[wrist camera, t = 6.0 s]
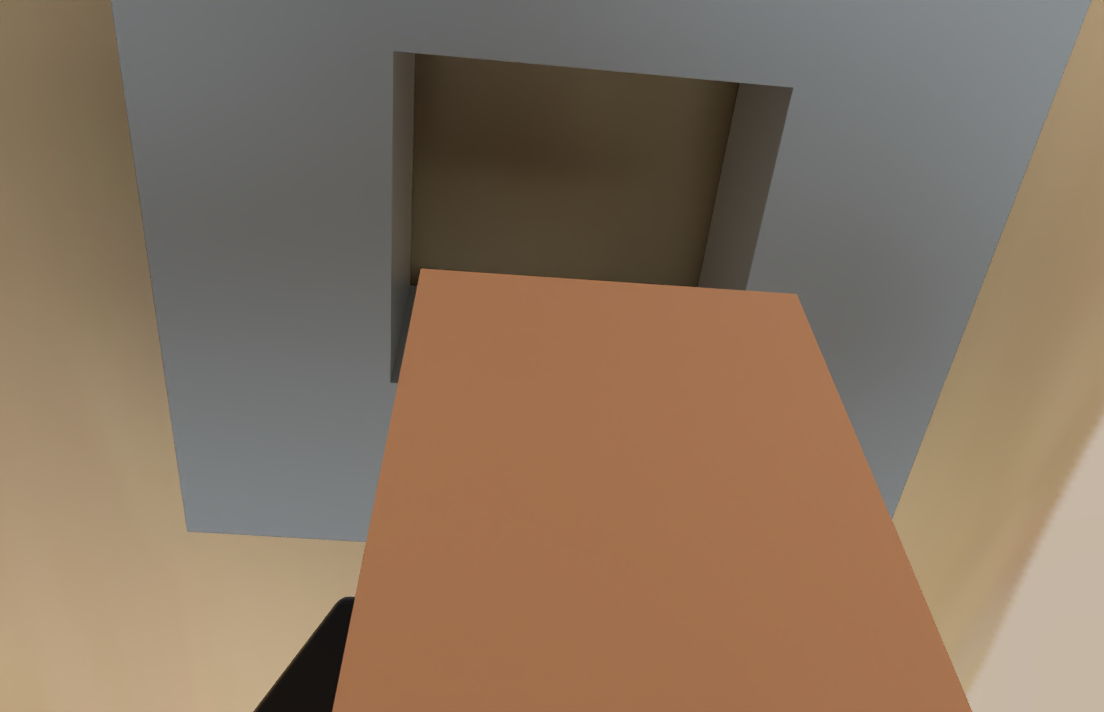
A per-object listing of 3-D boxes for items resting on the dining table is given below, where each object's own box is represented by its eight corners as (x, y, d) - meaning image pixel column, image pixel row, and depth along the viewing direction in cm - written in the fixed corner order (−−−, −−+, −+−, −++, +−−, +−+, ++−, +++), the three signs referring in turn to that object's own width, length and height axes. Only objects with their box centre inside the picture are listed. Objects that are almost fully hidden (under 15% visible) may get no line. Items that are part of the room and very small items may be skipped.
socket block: (830, 463, 24) (871, 571, 21) (231, 423, 23) (187, 531, 20) (1048, -208, 16) (1161, -182, 13) (156, -309, 15) (66, -305, 12)
